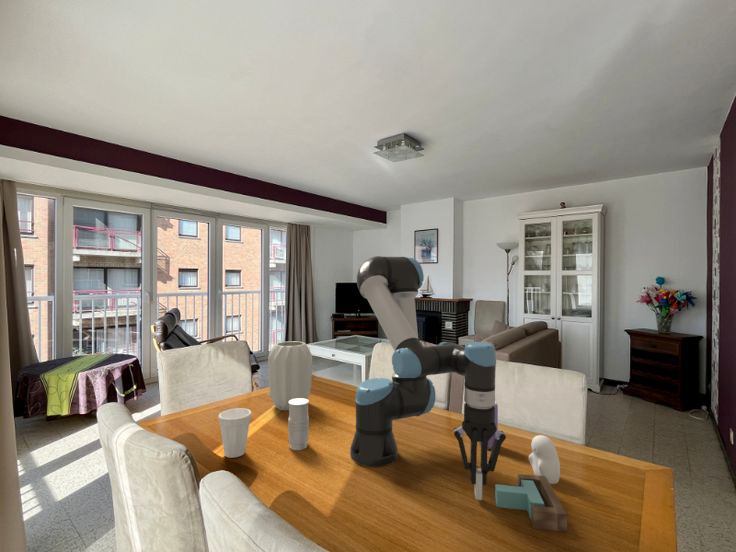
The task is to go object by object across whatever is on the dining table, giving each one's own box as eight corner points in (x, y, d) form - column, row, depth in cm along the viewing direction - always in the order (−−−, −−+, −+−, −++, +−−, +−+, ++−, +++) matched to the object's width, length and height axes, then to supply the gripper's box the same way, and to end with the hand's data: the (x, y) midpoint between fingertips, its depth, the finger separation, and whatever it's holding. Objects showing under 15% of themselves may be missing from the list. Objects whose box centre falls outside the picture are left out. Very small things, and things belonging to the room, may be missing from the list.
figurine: (526, 472, 109) (526, 431, 109) (551, 471, 110) (551, 430, 110) (539, 485, 102) (539, 441, 102) (565, 484, 103) (565, 440, 103)
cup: (211, 458, 117) (211, 416, 117) (232, 445, 126) (233, 406, 126) (237, 464, 113) (237, 421, 113) (257, 449, 123) (257, 410, 123)
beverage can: (498, 451, 122) (498, 405, 123) (479, 449, 124) (480, 404, 124) (496, 443, 128) (496, 399, 128) (478, 441, 130) (478, 398, 130)
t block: (499, 515, 89) (499, 499, 89) (493, 492, 99) (493, 477, 99) (544, 520, 88) (544, 503, 88) (533, 496, 98) (533, 480, 98)
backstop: (533, 528, 85) (533, 510, 85) (517, 488, 101) (517, 473, 101) (566, 531, 84) (567, 514, 84) (545, 491, 100) (545, 476, 100)
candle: (283, 446, 125) (283, 401, 125) (300, 439, 130) (300, 396, 130) (296, 452, 121) (296, 406, 121) (313, 445, 126) (313, 401, 126)
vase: (308, 414, 154) (308, 348, 154) (261, 414, 154) (261, 347, 154) (315, 399, 174) (315, 340, 174) (273, 398, 174) (274, 339, 174)
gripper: (454, 407, 92) (453, 502, 92) (509, 411, 90) (508, 508, 91) (452, 397, 100) (450, 485, 100) (503, 400, 98) (501, 490, 98)
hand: (478, 496), depth 95 cm, fingers closed
